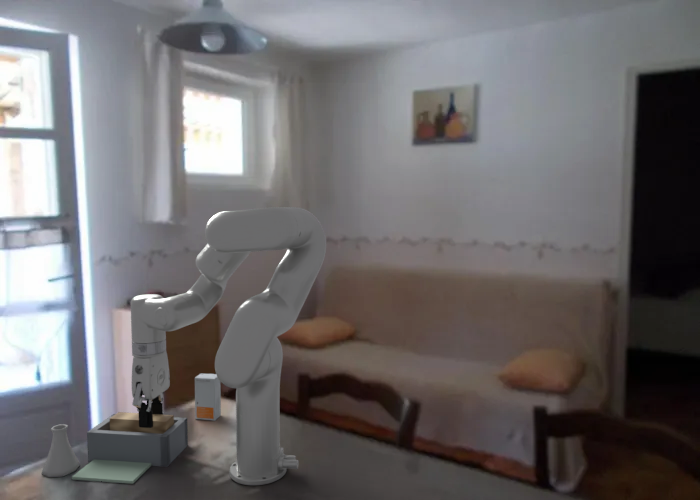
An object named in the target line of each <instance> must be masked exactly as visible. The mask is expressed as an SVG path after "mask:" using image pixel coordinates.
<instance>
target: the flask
mask: <svg viewBox="0 0 700 500" xmlns="http://www.w3.org/2000/svg"><path fill="white" fill-rule="evenodd" d="M68 428H69V425H68V424H64V423H63V424H62V423H61V424H57V425H53V426H52V427H51V428H50V431H51V432H52V439H51V444H50V448H49V451H48V453H47V457H46V460H45V463H44V466H43V468H42V471H41V475H43V476H45V477H48V478H59V477H65V476H66V475H69V474H71V473H74V472H76V471H77V470H78V468H79V467H80V466H81V463H80V461H79V459H78V457H77V456H76V454H75V452H74V450H73V447H72V446H71V444H70V441H69V438H68V437H69V436H68V432H67V431H68Z"/></svg>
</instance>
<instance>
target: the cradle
mask: <svg viewBox="0 0 700 500" xmlns="http://www.w3.org/2000/svg"><path fill="white" fill-rule="evenodd" d="M116 414H117V413H113V414H111V415H110V416H109V417H107V418H106V419H104V420H102V421H101V422H100V423H98V424H97V425H95V426H93V427H92V428H90V429H89V430H88V431H87V432H86V440H87V442H86V446H87V462H88V463H90V462H91V461H93V460H94V459H96V460H111V461H126V462H141V463H151V467H164V468H167V467H168V466H169V465H171V463H172V462H174V460H176V458H178V456H180V454H181V453H182V452H183V451H184V450H185V449H186V448H187V447H188V446H189V445H188V444H189V441H188V440H189V438H188V437H189V436H188V435H189V434H188V433H189V432H188V417H179V416H178V417H175V416H174V425H173V426H171V427H170V428H169V429H168V430H167V431H166V432H165V433H164V434H159V433H142V432H125V431H110V418H111V417H113V416H114V415H116Z"/></svg>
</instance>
